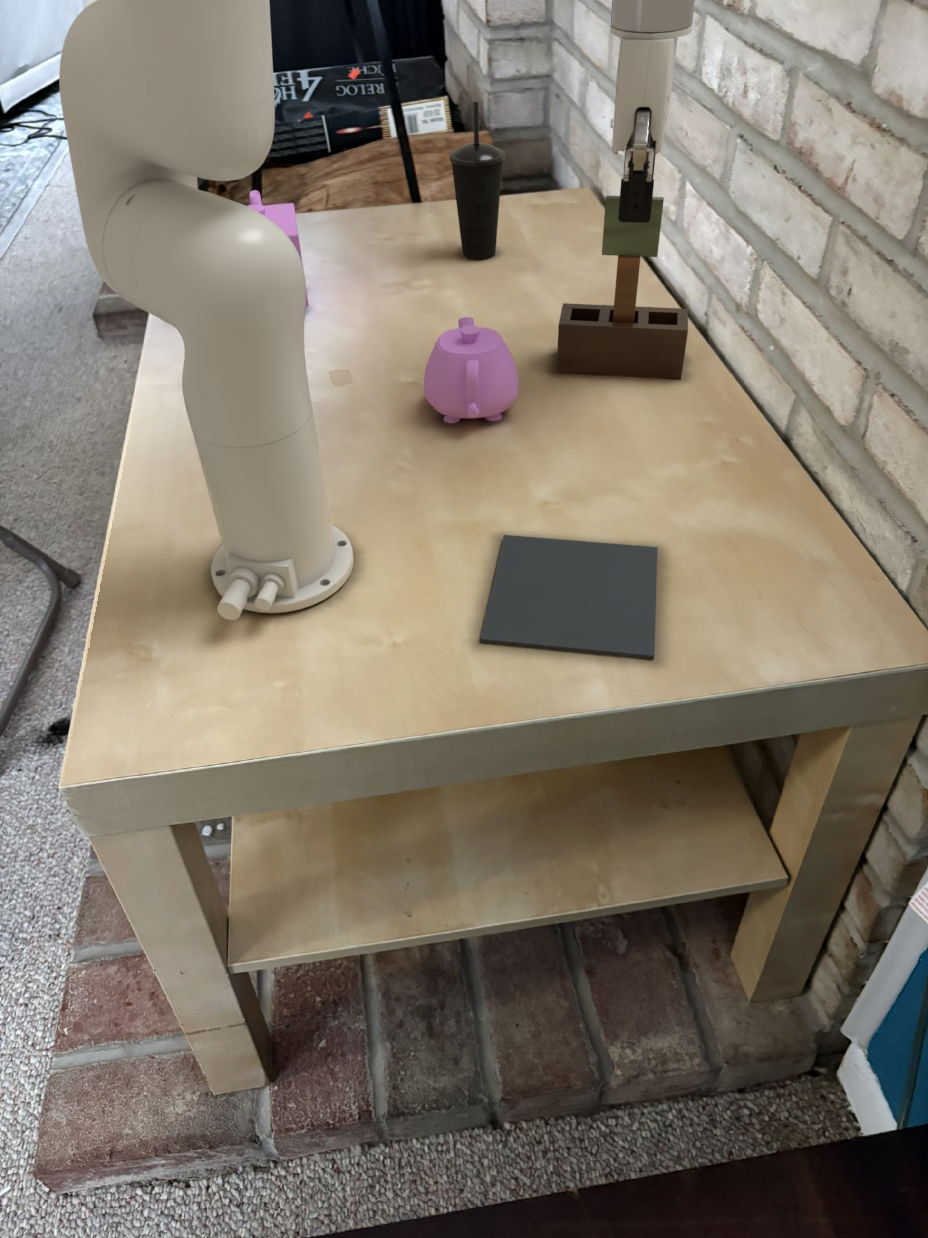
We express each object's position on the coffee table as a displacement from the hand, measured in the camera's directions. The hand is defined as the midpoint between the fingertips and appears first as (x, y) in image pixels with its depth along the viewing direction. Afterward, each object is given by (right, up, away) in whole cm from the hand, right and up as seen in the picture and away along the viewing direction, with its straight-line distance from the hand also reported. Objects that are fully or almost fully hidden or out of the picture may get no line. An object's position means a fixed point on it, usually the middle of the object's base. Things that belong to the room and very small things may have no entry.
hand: (635, 203), depth 97 cm
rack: (0, -14, +12) cm, 18 cm away
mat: (-9, -42, -18) cm, 46 cm away
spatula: (0, -14, +12) cm, 18 cm away
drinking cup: (-16, +10, +39) cm, 43 cm away
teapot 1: (-45, 0, +29) cm, 53 cm away
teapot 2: (-17, -20, +7) cm, 27 cm away
